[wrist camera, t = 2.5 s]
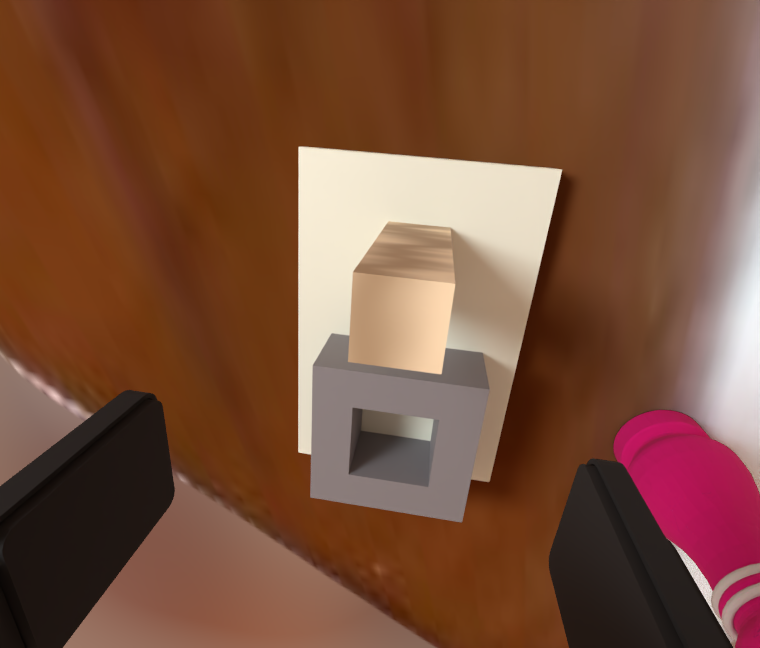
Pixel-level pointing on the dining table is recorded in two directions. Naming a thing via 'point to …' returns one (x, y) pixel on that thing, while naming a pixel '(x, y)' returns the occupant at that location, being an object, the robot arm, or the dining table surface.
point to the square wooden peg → (403, 299)
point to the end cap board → (465, 334)
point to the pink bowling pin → (701, 509)
